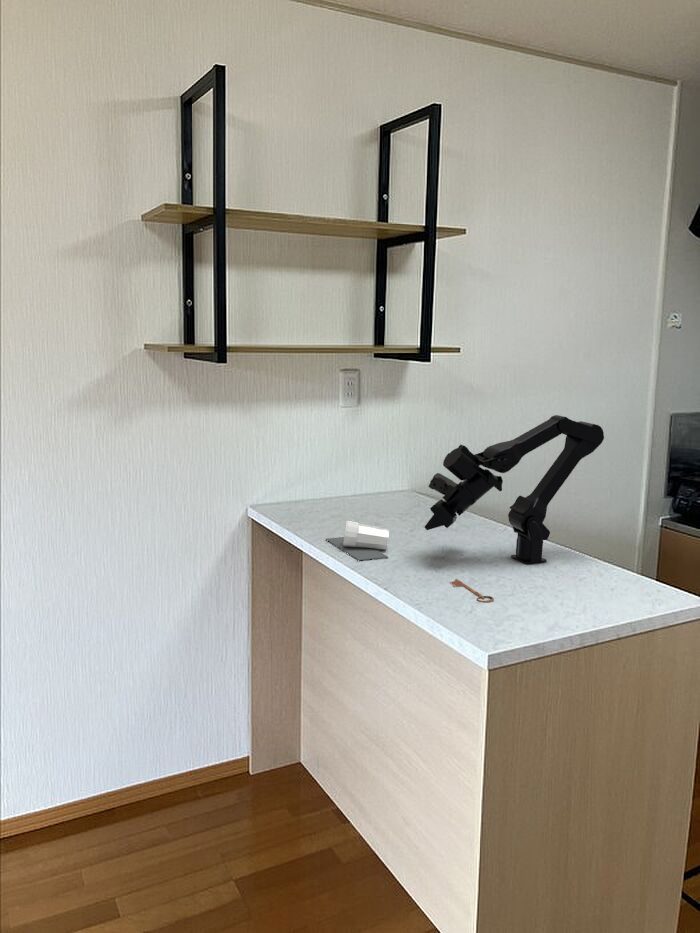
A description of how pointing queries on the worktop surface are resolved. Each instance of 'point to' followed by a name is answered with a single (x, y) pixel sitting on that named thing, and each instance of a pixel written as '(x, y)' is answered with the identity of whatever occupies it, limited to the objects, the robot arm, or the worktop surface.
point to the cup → (365, 536)
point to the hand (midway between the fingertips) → (425, 528)
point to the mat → (357, 550)
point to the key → (471, 591)
